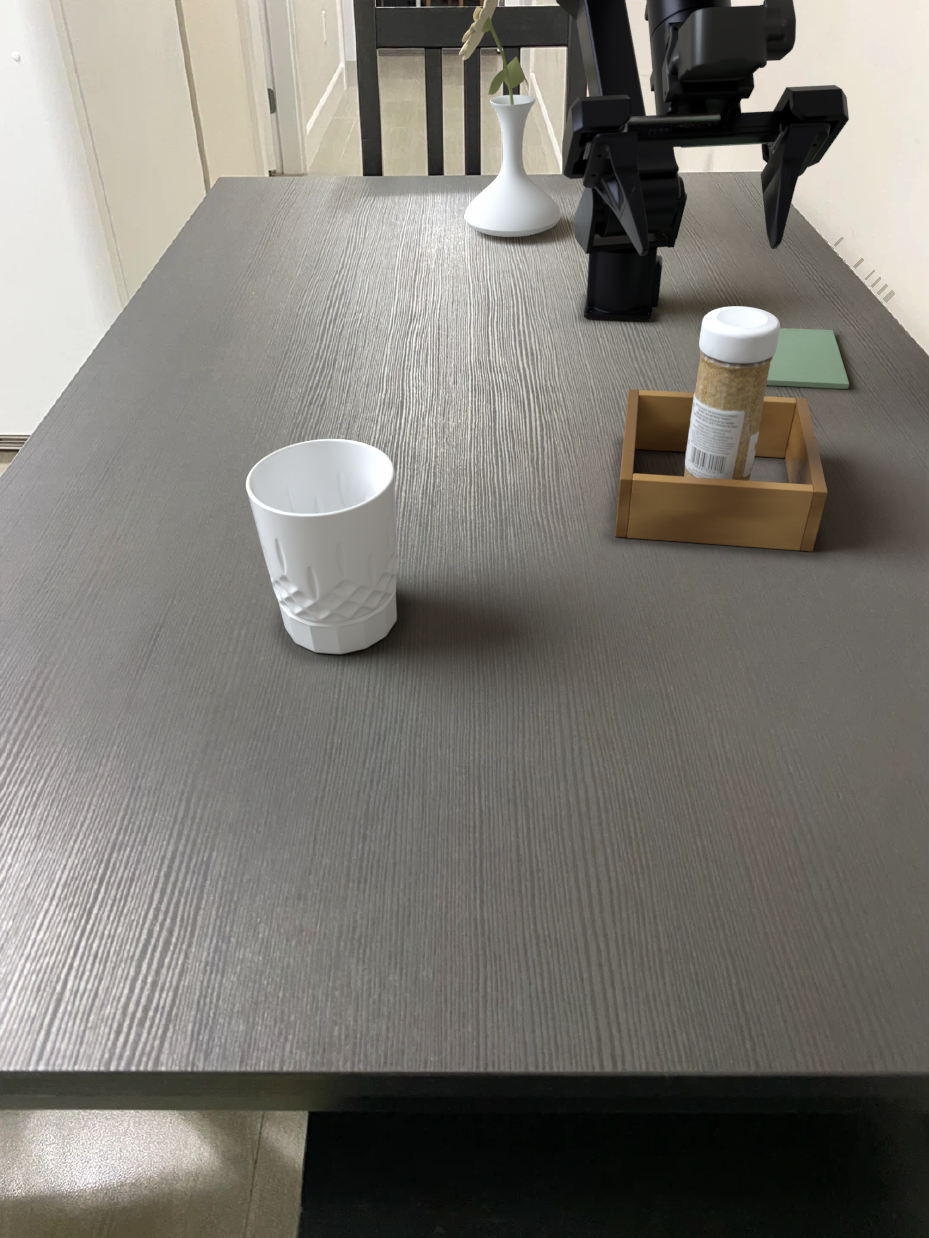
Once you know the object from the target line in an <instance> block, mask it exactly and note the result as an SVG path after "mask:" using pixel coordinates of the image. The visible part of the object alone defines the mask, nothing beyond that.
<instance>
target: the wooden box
mask: <svg viewBox="0 0 929 1238" xmlns="http://www.w3.org/2000/svg"><path fill="white" fill-rule="evenodd" d="M693 398H694V392H690V391H689V392H688V391H672V390H671V391H669V390H649V389H628V390H627V401H626V411H625V421H624V430H623V441H622V452H621V462H620V473H619V484H618V496H617V505H616V519H615V530H614V536H615V538H627V539H639V540H652V541H666V542H679V543H680V542H681V543H692V544H707V545H719V546H731V547H732V546H734V547H745V548H746V547H747V548H757V549H758V548H759V549H775V550H786V551H802V552H813V551H814V548H815V544H816V540H817V536H818V532H819V528H820V525H821V521H822V516H823V513H824V509H825V505H826V501H827V497H828V494H829V493H828V487H827V483H826V478H825V475H824V470H823V465H822V461H821V460H822V459H821V456H820V451H819V447H818V442H817V438H816V437H817V436H816V433H815V429H814V423H813V420H812V414H811V411H810V406H809V401H808V398H806V397H805V398H804V397H789V396H788V397H786V396H769V395H768V396H767V395H766V396H765V395H764V401H763V406H762V413H761V421H760V425H759V435H758V441H757V445H756V451H755V457H760V458H761V457H764V458H781V459H784V460H785V466H786V473H787V478H788V482H775V481H758V480H749V481H745V480H730V479H714V478H699V477H684V475H683V476H682V475H669V474H667V475H665V474H651V473H650V474H649V473H635V472H634V467H635V455H636V454H635V453H636V450H646V451H661V452H662V451H664V452H680V453H686V450H687V443H688V435H689V428H690V420H691V413H692V405H693Z"/></svg>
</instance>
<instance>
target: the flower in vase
mask: <svg viewBox="0 0 929 1238" xmlns="http://www.w3.org/2000/svg"><path fill="white" fill-rule="evenodd" d="M498 2H499V0H484V1H483V6H482V7H481V6H478V5H477V6H476V8H475V10H474V12H473V14H472V16H473V21H474V22H473V23H471V25H470V27H469V28H468V30H467V31H466V32H465V33H464V34H463V37H462V39H461V42H462V43H464V44H463V45H462V47H461V49H460V51H459V53H458V56H459V57H460V56H462V55H463V57H462V61H466V60H467V59H469V58H470V57H471V56H472V54H473V53H474V52H475V50H476V48H477V47H478V45H479V44H480V42H482V41H481V40H482V39H483V37H484V36H485V35H484V34H486V33H488V32H489V31H490V32H491V35H492V37H493V39H494V41H495V44H496V46H497V49H498V51H499V54H500V57H501V59H502V64H503V69H501V70H500V71H498V73H497V74H496V75H494V77H493V79H492V80H491V83H490V85H489V88H488V91H487V95H489V96H493V95H495V94H497V93H498V91H499V90H500V88H501V86H502V84H503V82H504V83H505V85H506V86H507V88H508V93H509V94H506V95H505V94H504V95H498V96H494V97H492V98H490V99H489V103H490V105H491V107H492V108H493V109H494V111H495V113H496V115H497V117H498V118H497V119H498V121H499V126H500V131H501V132H500V133H501V142H502V163H501V167H500V171H499V173H498V175H497V176H496V177H495V179H494V180H493V181H492V182H491V183H489V185H487V186H486V187H485V188H484V189H483V190H482V191H481V192H480V193H479V194H478V195H476V196H475V197H474V199H472V201H471V202H470V203H469V204H468V206H467V207H466V209H465V212H464V215H463V218H464V219H463V220H464V221H465V222H466V224H467V225H468V226H469V227H470V228H471V229H472V230H474V231H477V232H479V233H482V234H484V235H489V236H493V237H501V238H503V237H504V238H516V237H517V238H518V237H527V236H533V235H537V234H540V233H543V232H545V231H548V230H550V229H552V228H553V227H555V226H556V225H557V224H558V222H559V221H560V219H561V217H562V212H561V208H560V206H559V205H558V203H557V202H556V201H555V200H554V199H553V197H552V196H551V195H550V194H548V193H547V192H546V190H544V189H543V188H542V187H540V186H539V185H538V184H537V183H536V182H535V181H533V180H532V178H530V176H529V175H528V174H527V172H526V169H525V166H524V160H523V159H524V158H523V147H524V145H523V144H524V133H525V128H526V123H527V119H528V115H529V113H530V111H531V109H532V107H533V105H534V104H535V103H536V100H537V99H536V98H535V97H534V96H531V95H525V94H513V89H514V88H517V87H518V86H519V85H521V84H522V83H523V82H524V81H525V80H526V76H525V72H524V71H523V68H522V66H521V64H520V60H519V57H518V56H515V57H513V59H512V60H511V61H510V62H509V63H508V64H507V59H506V56H505V52H504V50H503V47H502V44H501V42H500V40H499V37H498V34H497V32H496V30H495V28H494V27H493V22H492V19H493V18H492V17H493V15H494V12H495V10H496V8H497V4H498Z"/></svg>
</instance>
